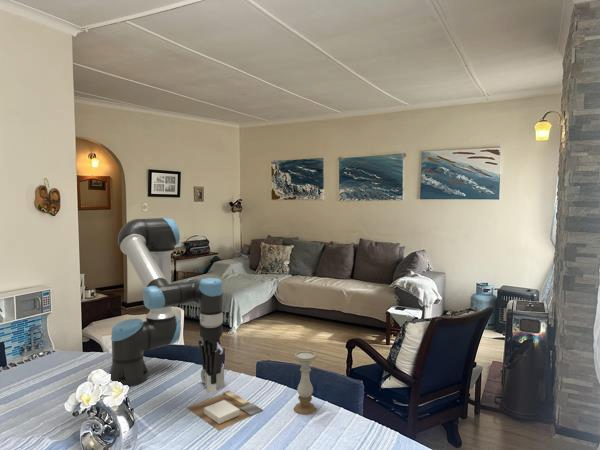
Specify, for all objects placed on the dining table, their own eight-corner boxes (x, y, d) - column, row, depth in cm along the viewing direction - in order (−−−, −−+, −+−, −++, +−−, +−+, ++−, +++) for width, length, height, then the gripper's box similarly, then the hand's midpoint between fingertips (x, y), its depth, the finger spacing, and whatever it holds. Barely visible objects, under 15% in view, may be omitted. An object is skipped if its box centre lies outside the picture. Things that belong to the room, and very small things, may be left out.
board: (186, 410, 147) (186, 407, 147) (229, 394, 160) (229, 391, 160) (218, 434, 133) (218, 430, 133) (263, 413, 145) (263, 410, 145)
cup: (217, 394, 159) (217, 371, 159) (195, 389, 164) (195, 366, 163) (228, 386, 166) (227, 364, 165) (206, 382, 170) (206, 360, 169)
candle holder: (320, 408, 149) (321, 351, 148) (313, 420, 141) (313, 361, 140) (297, 404, 152) (297, 348, 151) (288, 416, 144) (288, 357, 143)
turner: (220, 397, 154) (220, 393, 154) (231, 393, 158) (231, 389, 158) (250, 416, 142) (250, 411, 141) (262, 411, 145) (262, 406, 145)
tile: (204, 407, 143) (219, 417, 136) (224, 399, 148) (239, 409, 142) (204, 414, 143) (219, 424, 136) (224, 406, 148) (239, 415, 142)
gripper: (191, 322, 146) (192, 388, 148) (212, 331, 137) (212, 402, 139) (210, 318, 152) (210, 382, 153) (231, 326, 142) (231, 394, 144)
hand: (211, 391), depth 146 cm, fingers closed
